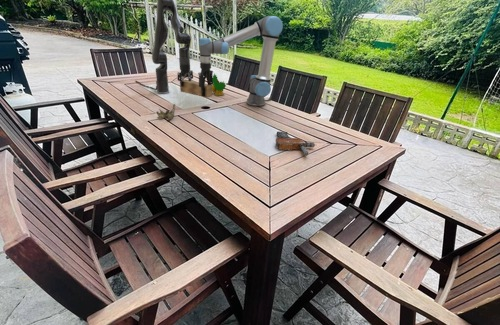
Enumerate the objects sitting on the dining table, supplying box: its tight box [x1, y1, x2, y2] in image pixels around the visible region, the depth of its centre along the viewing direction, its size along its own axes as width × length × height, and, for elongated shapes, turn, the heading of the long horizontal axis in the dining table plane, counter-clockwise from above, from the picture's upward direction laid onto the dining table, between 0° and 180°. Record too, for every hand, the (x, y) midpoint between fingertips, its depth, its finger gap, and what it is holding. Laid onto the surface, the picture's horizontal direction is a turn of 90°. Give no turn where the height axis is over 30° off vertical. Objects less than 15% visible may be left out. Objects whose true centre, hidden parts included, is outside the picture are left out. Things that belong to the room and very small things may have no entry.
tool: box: [275, 131, 316, 157], centre depth 149 cm, size 4×27×30 cm
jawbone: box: [156, 103, 176, 122], centre depth 174 cm, size 9×15×10 cm
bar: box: [179, 79, 213, 99], centre depth 196 cm, size 26×6×8 cm, turn 60°
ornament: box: [212, 72, 227, 96], centre depth 234 cm, size 21×8×15 cm, turn 42°
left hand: (186, 85), depth 199 cm, fingers open, 8 cm apart
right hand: (206, 95), depth 193 cm, fingers closed on bar, 6 cm apart
